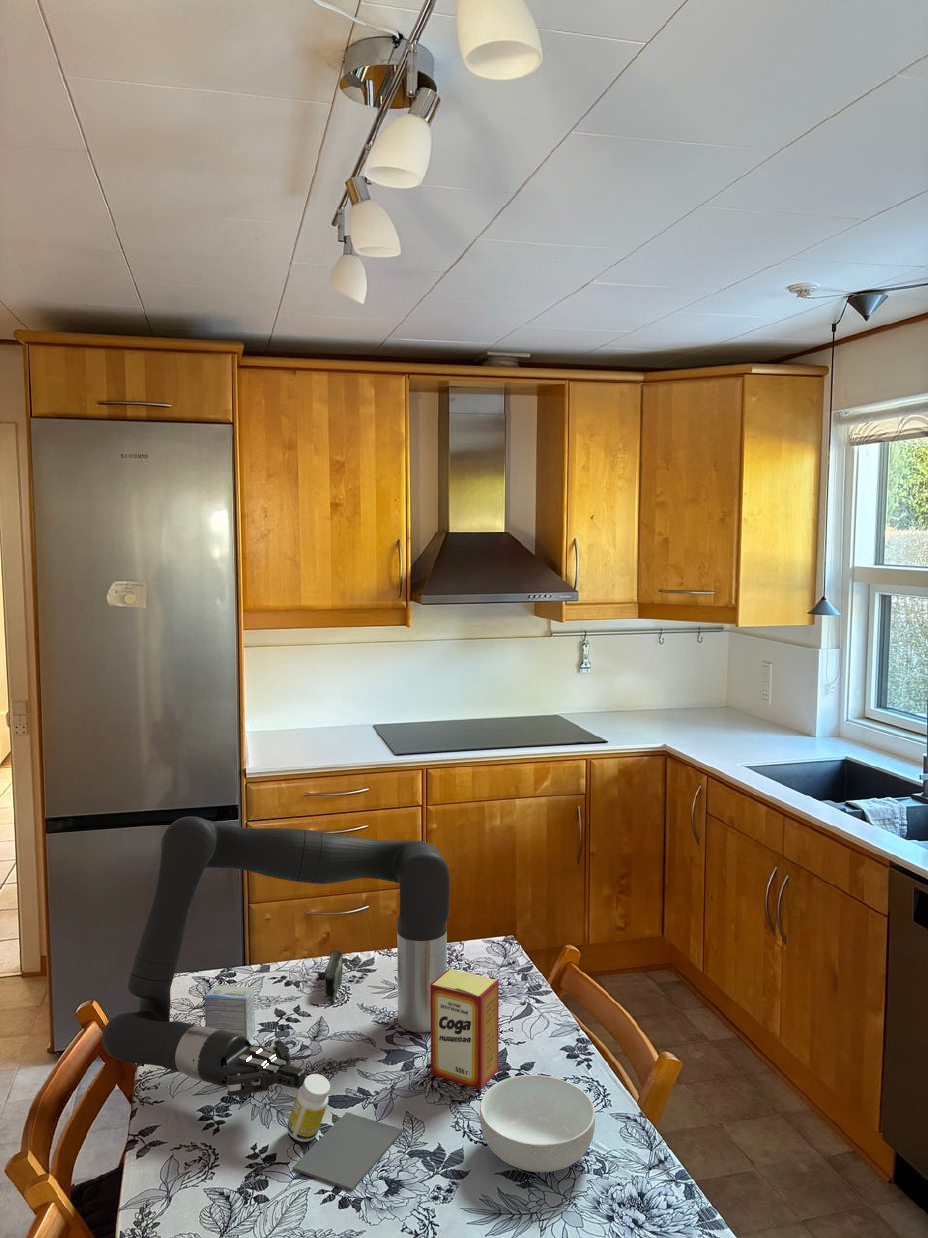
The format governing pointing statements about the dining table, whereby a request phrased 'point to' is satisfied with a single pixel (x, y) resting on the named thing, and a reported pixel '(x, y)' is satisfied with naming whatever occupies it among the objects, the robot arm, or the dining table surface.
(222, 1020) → the medicine box
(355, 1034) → the dining table surface
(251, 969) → the dining table surface
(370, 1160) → the mat
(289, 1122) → the supplement bottle
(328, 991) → the dark green elongated piece
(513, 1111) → the cereal bowl
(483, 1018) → the baking soda box
